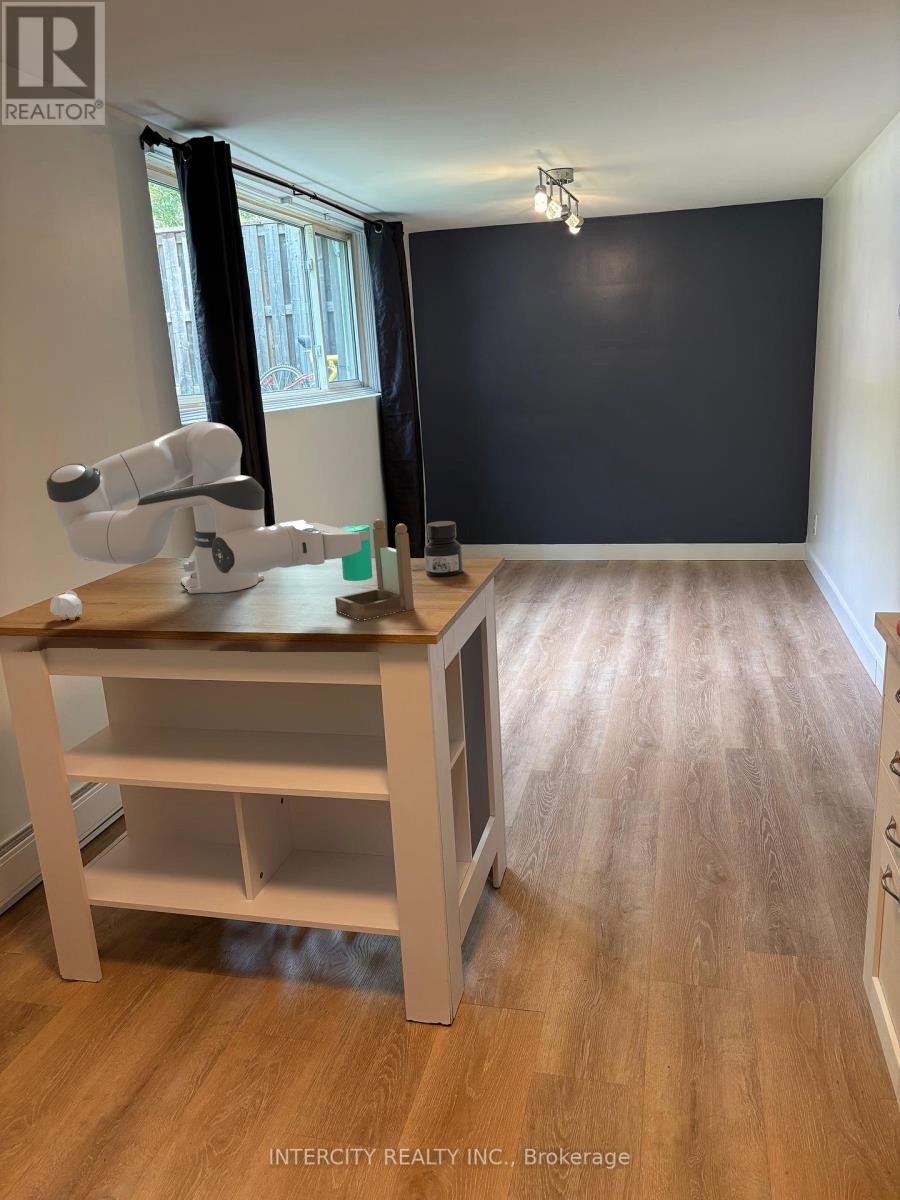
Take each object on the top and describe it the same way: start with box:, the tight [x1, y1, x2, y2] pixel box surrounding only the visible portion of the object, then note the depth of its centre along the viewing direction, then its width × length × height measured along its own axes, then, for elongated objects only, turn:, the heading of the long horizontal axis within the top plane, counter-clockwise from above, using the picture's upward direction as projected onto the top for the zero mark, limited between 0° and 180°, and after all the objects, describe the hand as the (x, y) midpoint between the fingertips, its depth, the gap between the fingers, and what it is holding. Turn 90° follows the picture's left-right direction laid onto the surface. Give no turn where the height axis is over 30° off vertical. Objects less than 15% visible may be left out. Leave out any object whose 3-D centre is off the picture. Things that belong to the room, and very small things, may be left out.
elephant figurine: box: [48, 589, 83, 618], centre depth 205 cm, size 7×8×6 cm
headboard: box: [372, 518, 415, 611], centre depth 197 cm, size 11×2×18 cm, turn 35°
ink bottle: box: [423, 520, 464, 577], centre depth 223 cm, size 10×9×12 cm
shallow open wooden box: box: [334, 587, 405, 621], centre depth 195 cm, size 10×10×3 cm
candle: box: [340, 520, 373, 582], centre depth 191 cm, size 6×6×12 cm
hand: (359, 532), depth 191 cm, fingers closed on candle, 5 cm apart
